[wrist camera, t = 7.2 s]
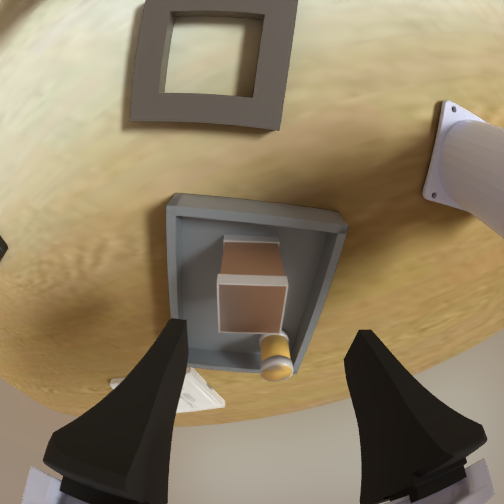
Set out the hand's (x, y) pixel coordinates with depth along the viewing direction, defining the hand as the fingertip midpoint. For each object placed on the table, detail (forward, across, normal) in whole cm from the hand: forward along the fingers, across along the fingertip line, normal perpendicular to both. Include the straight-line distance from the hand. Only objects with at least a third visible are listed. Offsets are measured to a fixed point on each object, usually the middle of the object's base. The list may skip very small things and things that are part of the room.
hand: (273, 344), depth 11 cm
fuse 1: (+9, +1, +2) cm, 10 cm away
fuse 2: (+9, -2, +10) cm, 14 cm away
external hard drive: (+10, +9, +22) cm, 26 cm away
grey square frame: (+10, +4, -12) cm, 16 cm away
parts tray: (+10, +1, +5) cm, 11 cm away
